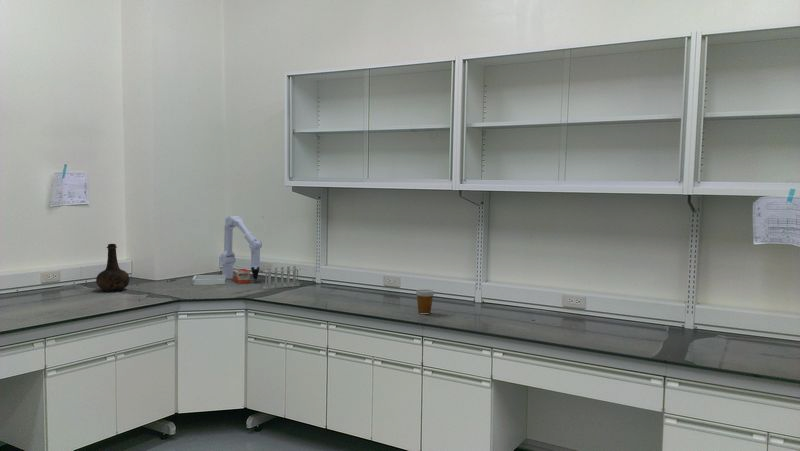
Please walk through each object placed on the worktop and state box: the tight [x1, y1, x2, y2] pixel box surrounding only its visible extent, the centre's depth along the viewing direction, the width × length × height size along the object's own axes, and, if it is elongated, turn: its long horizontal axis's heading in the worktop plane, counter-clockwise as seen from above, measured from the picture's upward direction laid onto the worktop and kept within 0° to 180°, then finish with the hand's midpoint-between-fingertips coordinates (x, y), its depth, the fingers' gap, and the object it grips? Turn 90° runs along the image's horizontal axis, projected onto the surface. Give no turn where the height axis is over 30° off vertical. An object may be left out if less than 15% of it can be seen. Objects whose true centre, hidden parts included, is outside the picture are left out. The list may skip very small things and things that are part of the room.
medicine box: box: [232, 268, 251, 285], centre depth 391 cm, size 15×8×8 cm, turn 30°
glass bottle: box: [95, 243, 131, 292], centre depth 349 cm, size 18×18×28 cm
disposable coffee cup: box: [415, 289, 435, 314], centre depth 307 cm, size 10×10×12 cm
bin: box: [191, 274, 226, 286], centre depth 385 cm, size 18×20×4 cm
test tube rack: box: [262, 265, 302, 290], centre depth 376 cm, size 25×4×13 cm, turn 129°
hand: (255, 278), depth 393 cm, fingers open, 7 cm apart
